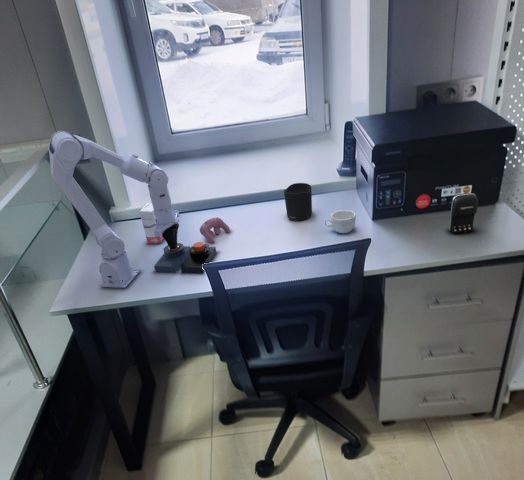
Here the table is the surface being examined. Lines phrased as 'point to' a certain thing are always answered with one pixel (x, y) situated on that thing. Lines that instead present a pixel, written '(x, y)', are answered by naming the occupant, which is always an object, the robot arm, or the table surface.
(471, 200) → the battery charger
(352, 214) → the teacup
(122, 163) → the robot arm
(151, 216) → the ink box
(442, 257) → the table surface
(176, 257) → the left box
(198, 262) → the right box
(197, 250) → the right button
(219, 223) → the pink curved piece
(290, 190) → the pen holder
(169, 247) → the left button
